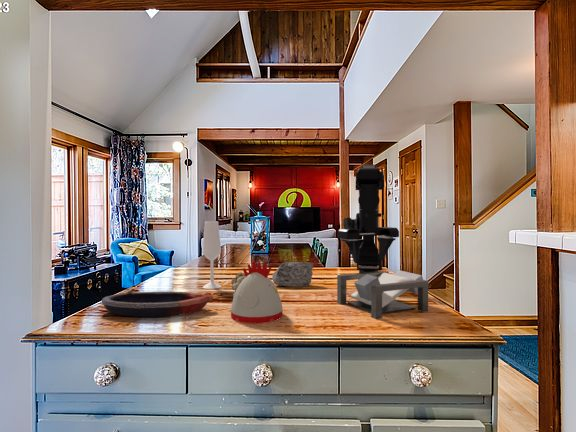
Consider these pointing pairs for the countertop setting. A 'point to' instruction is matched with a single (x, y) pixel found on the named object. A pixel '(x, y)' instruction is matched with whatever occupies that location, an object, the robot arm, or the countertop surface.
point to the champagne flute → (211, 249)
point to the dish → (155, 303)
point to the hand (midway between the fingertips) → (368, 261)
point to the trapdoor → (392, 278)
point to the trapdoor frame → (376, 295)
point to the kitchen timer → (256, 297)
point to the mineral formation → (237, 281)
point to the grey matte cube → (366, 286)
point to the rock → (293, 274)
